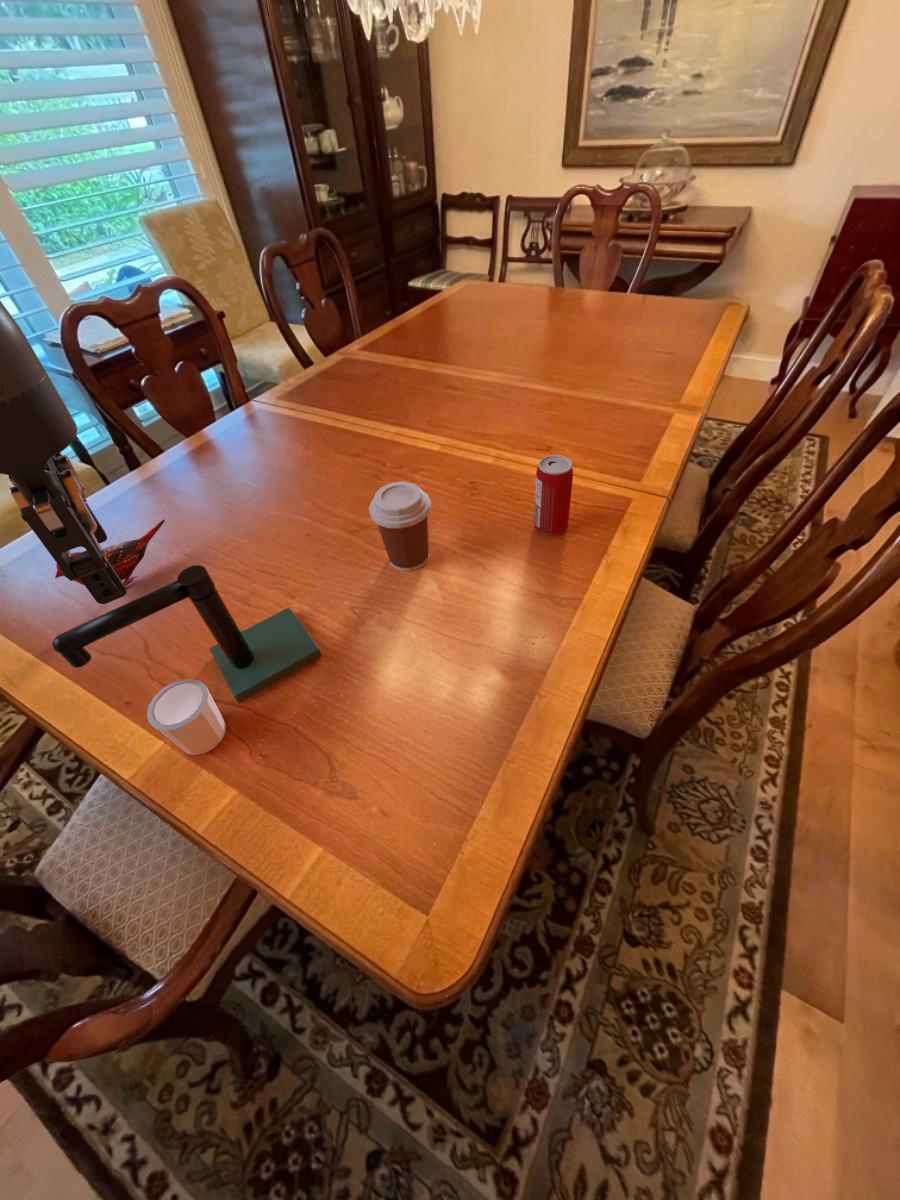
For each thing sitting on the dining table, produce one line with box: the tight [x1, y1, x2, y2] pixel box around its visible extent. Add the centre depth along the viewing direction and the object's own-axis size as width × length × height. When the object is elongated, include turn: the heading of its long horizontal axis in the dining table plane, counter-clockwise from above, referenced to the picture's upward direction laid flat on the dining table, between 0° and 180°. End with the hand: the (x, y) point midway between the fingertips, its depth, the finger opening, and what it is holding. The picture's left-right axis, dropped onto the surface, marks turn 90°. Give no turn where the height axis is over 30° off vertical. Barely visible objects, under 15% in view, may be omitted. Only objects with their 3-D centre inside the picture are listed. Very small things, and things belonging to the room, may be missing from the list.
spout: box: [52, 564, 216, 669], centre depth 59 cm, size 17×3×4 cm, turn 126°
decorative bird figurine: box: [54, 519, 166, 588], centre depth 83 cm, size 3×18×10 cm, turn 146°
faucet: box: [189, 586, 323, 704], centre depth 68 cm, size 12×10×15 cm
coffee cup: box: [368, 481, 432, 572], centre depth 81 cm, size 9×9×12 cm
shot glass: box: [146, 678, 227, 756], centre depth 63 cm, size 7×7×7 cm
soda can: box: [533, 454, 574, 536], centre depth 83 cm, size 6×6×12 cm
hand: (104, 568), depth 46 cm, fingers open, 8 cm apart
